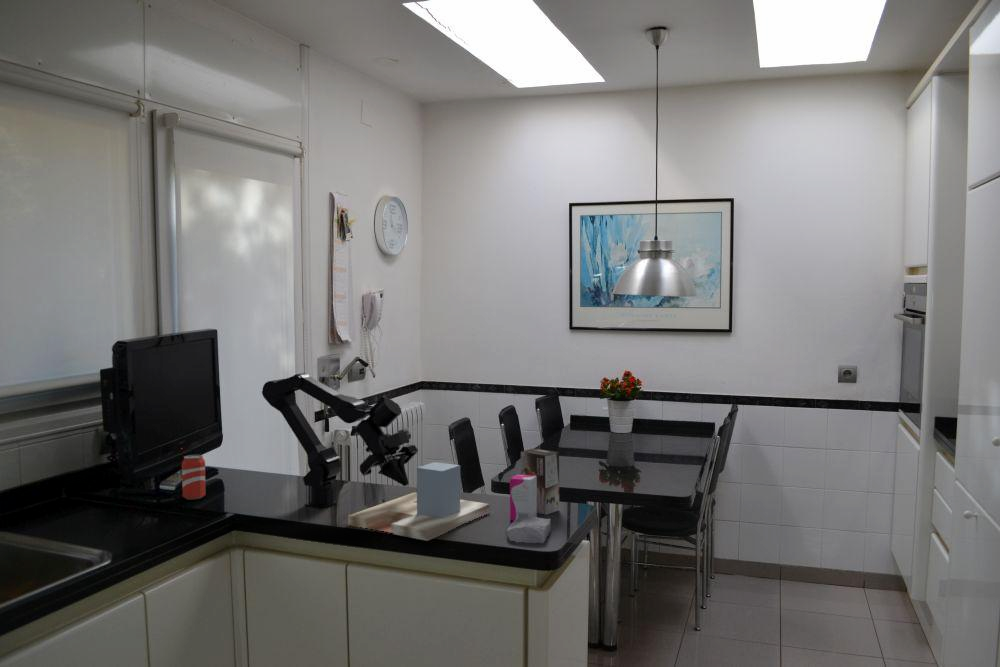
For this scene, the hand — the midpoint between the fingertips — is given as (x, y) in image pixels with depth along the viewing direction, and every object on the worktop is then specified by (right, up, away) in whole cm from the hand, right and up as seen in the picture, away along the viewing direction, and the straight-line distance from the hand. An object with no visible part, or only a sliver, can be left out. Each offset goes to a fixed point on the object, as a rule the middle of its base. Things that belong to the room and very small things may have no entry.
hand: (406, 484), depth 211 cm
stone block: (+31, -10, -16) cm, 37 cm away
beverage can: (-64, -8, +20) cm, 68 cm away
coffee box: (+36, -8, +7) cm, 37 cm away
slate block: (+9, -6, -5) cm, 12 cm away
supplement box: (+31, -9, -3) cm, 32 cm away
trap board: (+4, -9, -2) cm, 10 cm away
